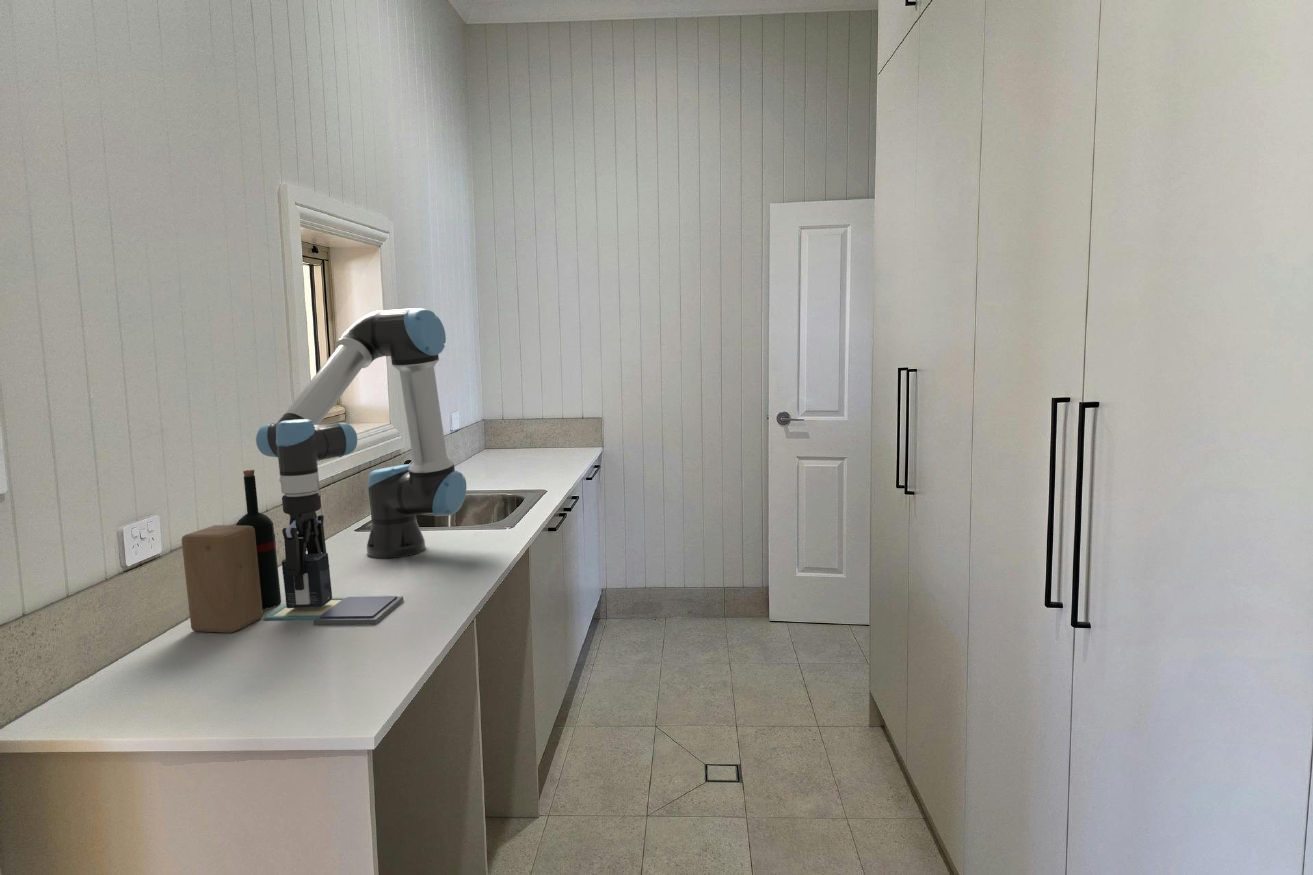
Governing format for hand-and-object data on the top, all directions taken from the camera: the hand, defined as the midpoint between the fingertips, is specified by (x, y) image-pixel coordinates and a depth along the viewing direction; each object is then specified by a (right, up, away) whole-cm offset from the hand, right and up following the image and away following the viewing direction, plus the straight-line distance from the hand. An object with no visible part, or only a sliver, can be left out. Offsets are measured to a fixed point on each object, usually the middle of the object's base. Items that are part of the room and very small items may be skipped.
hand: (310, 598), depth 183 cm
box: (0, -1, 0) cm, 1 cm away
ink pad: (+12, -2, -3) cm, 12 cm away
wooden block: (-14, -4, -8) cm, 16 cm away
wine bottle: (-12, -2, +6) cm, 14 cm away
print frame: (0, -2, 0) cm, 2 cm away
